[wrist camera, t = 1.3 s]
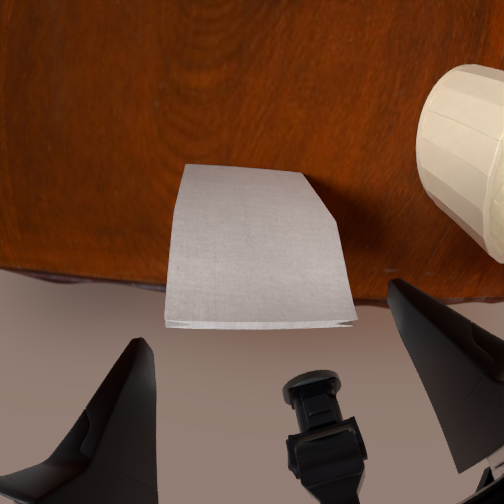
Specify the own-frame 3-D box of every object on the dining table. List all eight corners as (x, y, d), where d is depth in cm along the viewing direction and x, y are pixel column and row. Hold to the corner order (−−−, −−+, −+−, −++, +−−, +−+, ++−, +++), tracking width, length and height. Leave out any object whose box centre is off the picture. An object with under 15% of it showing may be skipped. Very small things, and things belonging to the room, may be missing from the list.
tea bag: (185, 164, 17) (160, 278, 8) (301, 172, 18) (375, 282, 10) (183, 220, 19) (168, 355, 11) (290, 226, 20) (341, 352, 12)
